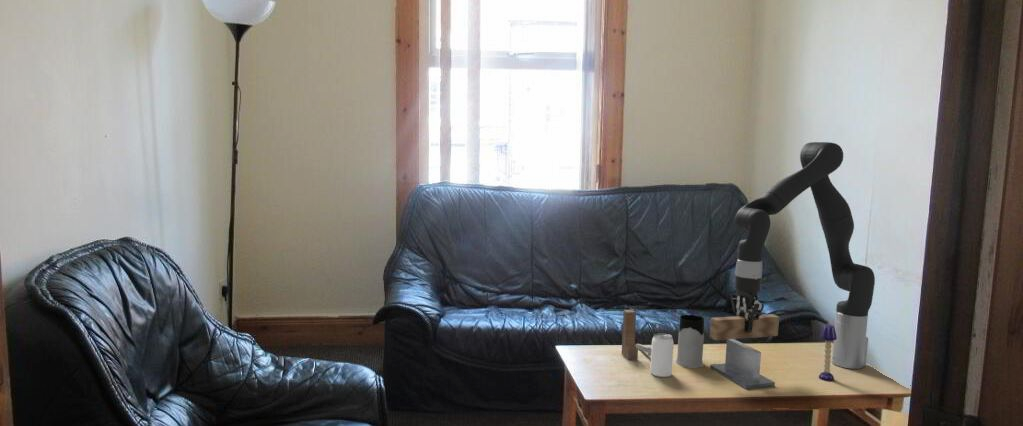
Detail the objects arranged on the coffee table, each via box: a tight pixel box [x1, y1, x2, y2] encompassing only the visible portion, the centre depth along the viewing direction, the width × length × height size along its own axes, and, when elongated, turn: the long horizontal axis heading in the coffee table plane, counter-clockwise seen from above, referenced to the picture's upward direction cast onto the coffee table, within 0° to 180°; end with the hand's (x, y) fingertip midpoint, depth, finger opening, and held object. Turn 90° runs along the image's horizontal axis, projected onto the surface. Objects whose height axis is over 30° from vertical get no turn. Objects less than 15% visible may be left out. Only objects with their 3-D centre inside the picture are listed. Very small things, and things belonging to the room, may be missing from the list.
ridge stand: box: [709, 339, 776, 390], centre depth 206 cm, size 10×18×10 cm, turn 17°
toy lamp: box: [818, 324, 837, 382], centre depth 206 cm, size 5×5×17 cm
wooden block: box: [621, 309, 639, 361], centre depth 222 cm, size 7×3×15 cm, turn 10°
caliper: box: [635, 343, 652, 357], centre depth 224 cm, size 20×1×6 cm, turn 7°
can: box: [649, 332, 675, 378], centre depth 206 cm, size 6×6×12 cm
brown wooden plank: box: [709, 313, 780, 341], centre depth 205 cm, size 22×3×6 cm, turn 107°
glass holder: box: [675, 314, 705, 369], centre depth 220 cm, size 9×14×15 cm, turn 157°
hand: (744, 330), depth 205 cm, fingers closed on brown wooden plank, 3 cm apart
